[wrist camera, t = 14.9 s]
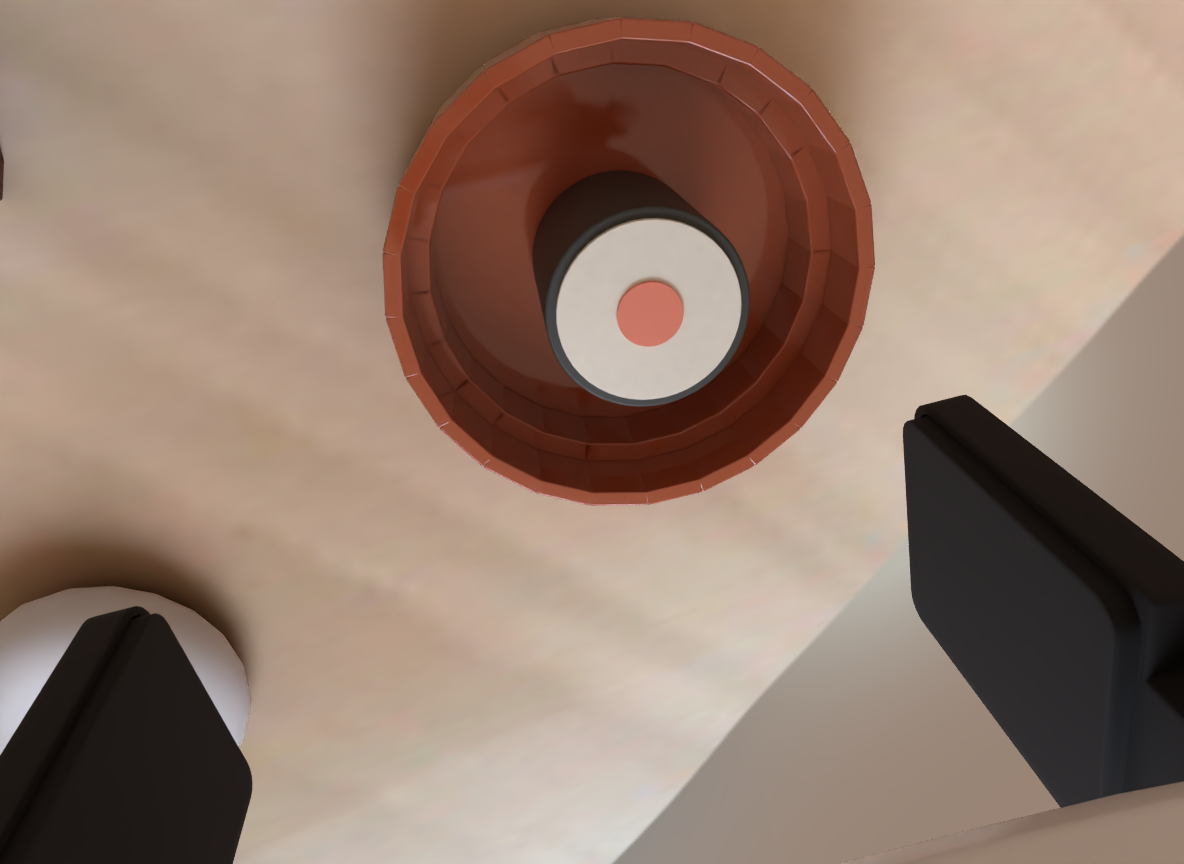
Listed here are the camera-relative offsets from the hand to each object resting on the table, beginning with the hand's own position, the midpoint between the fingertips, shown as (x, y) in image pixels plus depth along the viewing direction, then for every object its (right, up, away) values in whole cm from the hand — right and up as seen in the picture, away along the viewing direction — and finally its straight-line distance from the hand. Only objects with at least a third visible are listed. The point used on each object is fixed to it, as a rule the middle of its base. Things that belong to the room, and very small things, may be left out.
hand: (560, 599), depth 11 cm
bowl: (+1, +8, +18) cm, 20 cm away
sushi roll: (+1, +8, +18) cm, 19 cm away
